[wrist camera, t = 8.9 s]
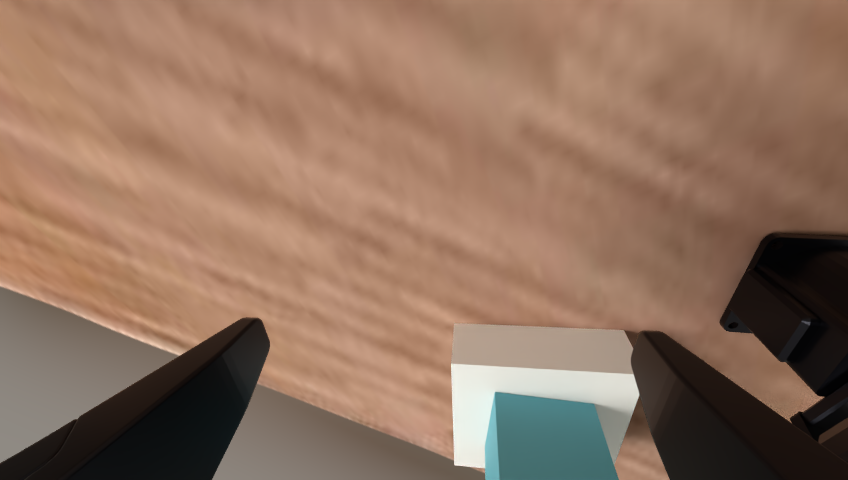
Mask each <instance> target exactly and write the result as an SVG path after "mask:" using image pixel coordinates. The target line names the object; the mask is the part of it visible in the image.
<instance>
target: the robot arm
mask: <svg viewBox="0 0 848 480" xmlns="http://www.w3.org/2000/svg"><path fill="white" fill-rule="evenodd" d="M775 242H777V243H776V244H774V245H773V246H772V244H773V243H775ZM732 322H733V323H732ZM730 323H731V324H730ZM720 325H721V326H722V327H723V328H724V329H725V330H726V331H729V332H741V333H753V334H754V335H755V336H756V337H757V338H758V339H759V340H760V341H761V342H762V343H763V344H764V346H765V347H766V348H767V349H768V350H769V351H770V352H771V353H772V354H773V355H774V356H775V357H776V358H777V359H778V360H779V361H780V362H786V363H787V364H788V365H789V366H790V367H791V368H792V369H793V370H794V371H795V372H796V374H797V375H798V376H799V377H800V378H801V379H802V380H803V381H804V382H805V383H806V384H807V385H808V386H809V387H810V388H811V389H812V390H813V391H814V392H815V393H816V394H817V395H818V396H823V397H824V398H823V399H821V400H820V401H818V402H817V403H816V404H814V405H813V406H811V407H810V408H808V409H807V410H805V411H804V412H798V413H797V414H795V415H794V416H792V417H791V418H790V420H791V422H792V423H790V422H789V421H788V420H786V419H785V418H783V417H782V416H780V415H779V414H778V413H776V412H775V411H773V410H772V409H771V408H769V407H768V406H766V405H765V404H764V403H762V402H761V401H759V400H758V399H756V398H755V397H754V396H752V395H751V394H749V393H748V392H747V391H745V390H744V389H742V388H741V387H740V386H738V385H737V384H735V383H734V382H732V381H731V380H730V379H728V378H727V377H725V376H724V375H723V374H721V373H720V372H718V371H717V370H716V369H714V368H713V367H711V366H710V365H708V364H707V363H706V362H704V361H703V360H701V359H700V358H699V357H697V356H696V355H694V354H693V353H692V352H690V351H689V350H687V349H686V348H684V347H683V346H682V345H680V344H679V343H677V342H676V341H675V340H673V339H672V338H670V337H669V336H667V335H666V334H665V333H663V332H660V331H641V332H640V333H639V334H638V336H637V339H636V342H635V345H634V348H633V351H632V355H631V367H632V371H633V374H634V377H635V381H636V384H637V388H638V391H639V394H640V398H641V401H642V405H643V408H644V412H645V415H646V418H647V422H648V425H649V428H650V431H651V434H652V437H653V440H654V442H655V445H656V447H657V450H658V452H659V455H660V457H661V459H662V462H663V464H664V467H665V469H666V471H667V474H668V476H669V479H670V480H848V236H826V235H801V234H777V233H776V234H770V235H768V236H766V237H765V238H763V240H762V241H761V243H760V244H759V246H758V248H757V250H756V252H755V254H754V256H753V258H752V260H751V262H750V264H749V266H748V268H747V269H746V271H745V273H744V275H743V277H742V279H741V281H740V283H739V285H738V287H737V289H736V291H735V293H734V294H733V296H732V298H731V300H730V302H729V304H728V306H727V308H726V310H725V312H724V314H723V316H722V318H721V319H720ZM269 348H270V341H269V338H268V335H267V333H266V330H265V327H264V325H263V322H262V320H261V319H259V318H250V317H246V318H242V319H240V320H238V321H237V322H235V323H233V324H232V325H230V326H228V327H227V328H225V329H223V330H222V331H220V332H218V333H217V334H215V335H213V336H212V337H210V338H208V339H207V340H205V341H203V342H202V343H200V344H199V345H197V346H195V347H194V348H192V349H190V350H189V351H187V352H185V353H184V354H182V355H180V356H179V357H177V358H175V359H174V360H172V361H171V362H169V363H167V364H165V365H164V366H162V367H160V368H159V369H157V370H156V371H154V372H153V373H151V374H149V375H147V376H146V377H144V378H143V379H141V380H139V381H137V382H136V383H134V384H132V385H131V386H129V387H127V388H126V389H124V390H123V391H121V392H119V393H118V394H116V395H114V396H113V397H111V398H109V399H108V400H106V401H104V402H103V403H101V404H99V405H98V406H96V407H94V408H93V409H91V410H89V411H88V412H86V413H84V414H83V415H81V416H80V417H79V418H78V419H75V420H73V421H71V422H69V423H68V424H66V425H65V426H63V427H61V428H60V429H58V430H56V431H55V432H53V433H51V434H50V435H48V436H46V437H45V438H43V439H41V440H40V441H38V442H36V443H34V444H33V445H31V446H29V447H28V448H26V449H24V450H23V451H21V452H19V453H17V454H16V455H14V456H12V457H10V458H8V459H7V460H5V461H3V462H1V463H0V480H212V478H213V476H214V474H215V472H216V470H217V468H218V466H219V464H220V462H221V460H222V458H223V456H224V454H225V452H226V450H227V448H228V446H229V444H230V442H231V440H232V438H233V436H234V434H235V432H236V430H237V428H238V426H239V424H240V421H241V420H242V418H243V415H244V413H245V411H246V409H247V407H248V404H249V402H250V399H251V397H252V394H253V392H254V389H255V387H256V384H257V381H258V379H259V376H260V373H261V371H262V368H263V365H264V363H265V360H266V357H267V355H268V352H269Z"/></svg>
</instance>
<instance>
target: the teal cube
mask: <svg viewBox="0 0 848 480" xmlns="http://www.w3.org/2000/svg"><path fill="white" fill-rule="evenodd" d="M485 478H486V479H485V480H619V479H618V476H617V473H616V470H615V467H614V464H613V460H612V457H611V454H610V451H609V448H608V445H607V442H606V439H605V436H604V433H603V430H602V427H601V423H600V420H599V417H598V414H597V411H596V408H595V405H594V404H591V403H583V402H574V401H566V400H558V399H549V398H541V397H532V396H524V395H516V394H507V393H499V392H495V393H494V399H493V404H492V410H491V415H490V421H489V426H488V432H487V437H486V443H485Z"/></svg>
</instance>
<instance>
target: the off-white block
mask: <svg viewBox="0 0 848 480" xmlns="http://www.w3.org/2000/svg"><path fill="white" fill-rule="evenodd" d="M632 351H633V347H632V345H631V343H630V341H629V339H628V337H627V335H626V334H625V332H624V330H607V329H584V328H560V327H536V326H512V325H488V324H465V323H454V333H453V347H452V360H451V372H452V402H453V433H454V463H455V465H458V466H468V467H478V468H485V443H486V437H487V432H488V426H489V421H490V415H491V410H492V404H493V399H494V393H495V392H499V393H507V394H516V395H524V396H532V397H541V398H549V399H558V400H566V401H574V402H583V403H591V404H594V405H595V408H596V411H597V414H598V417H599V420H600V423H601V427H602V430H603V433H604V436H605V439H606V442H607V445H608V448H609V451H610V454H611V457H612V460H613V464H615V461H616V458H617V456H618V453H619V450H620V447H621V445H622V442H623V439H624V436H625V433H626V431H627V428H628V425H629V422H630V419H631V417H632V414H633V411H634V408H635V406H636V403H637V400H638V397H639V391H638V388H637V384H636V381H635V377H634V374H633V371H632V367H631V355H632Z"/></svg>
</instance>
